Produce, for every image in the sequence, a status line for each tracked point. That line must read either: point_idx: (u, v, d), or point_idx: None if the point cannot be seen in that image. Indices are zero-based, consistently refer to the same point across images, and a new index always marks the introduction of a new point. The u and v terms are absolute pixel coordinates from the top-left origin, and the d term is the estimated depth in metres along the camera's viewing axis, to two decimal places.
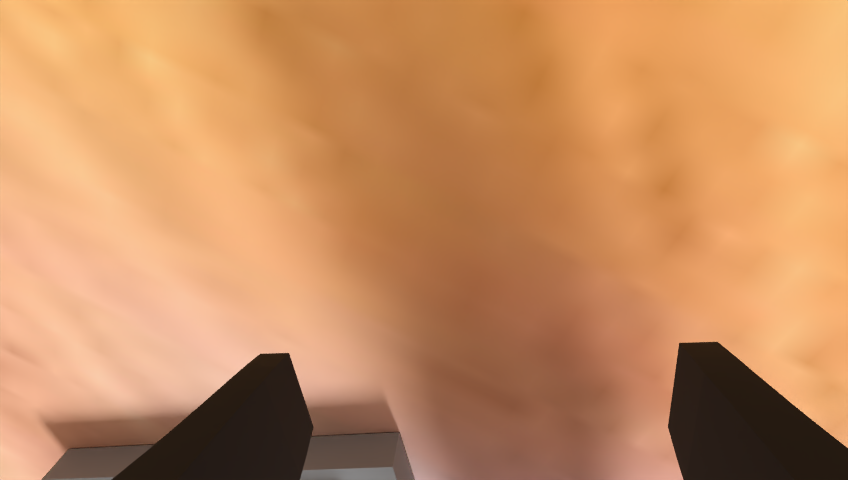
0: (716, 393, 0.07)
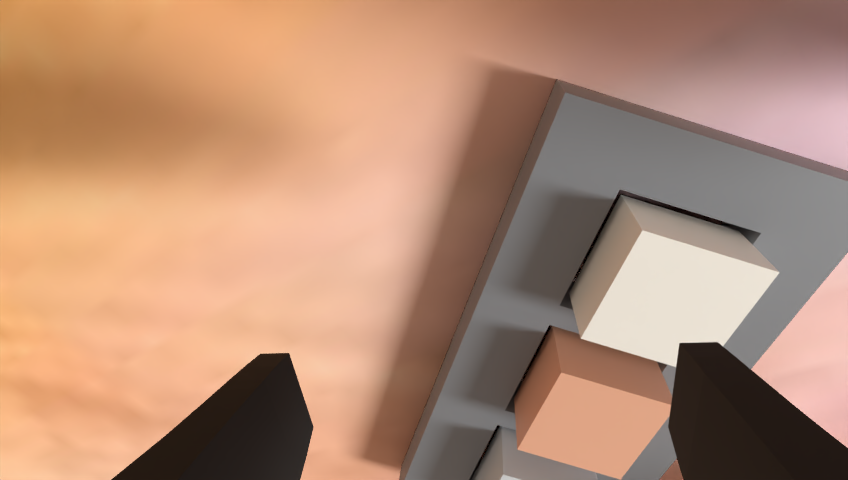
0: (716, 393, 0.07)
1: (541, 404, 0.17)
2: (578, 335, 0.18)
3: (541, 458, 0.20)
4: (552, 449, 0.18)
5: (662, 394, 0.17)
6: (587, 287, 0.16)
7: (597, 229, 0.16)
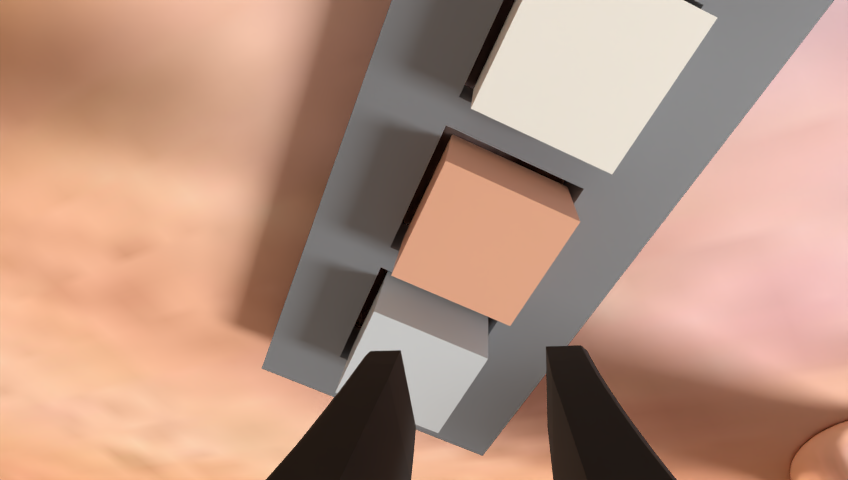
0: (558, 395, 0.07)
1: (422, 209, 0.14)
2: (481, 149, 0.15)
3: (426, 308, 0.17)
4: (432, 277, 0.15)
5: (566, 210, 0.14)
6: (490, 59, 0.13)
7: None
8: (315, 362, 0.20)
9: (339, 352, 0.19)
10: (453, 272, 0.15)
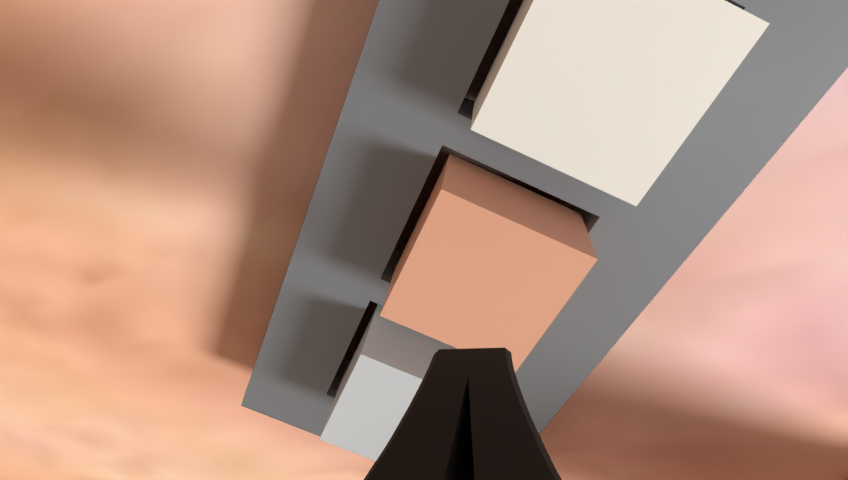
0: None
1: (414, 244, 0.12)
2: (482, 171, 0.13)
3: (420, 347, 0.15)
4: (426, 319, 0.13)
5: (581, 244, 0.12)
6: (493, 70, 0.11)
7: None
8: (299, 400, 0.18)
9: (325, 390, 0.17)
10: (450, 313, 0.13)
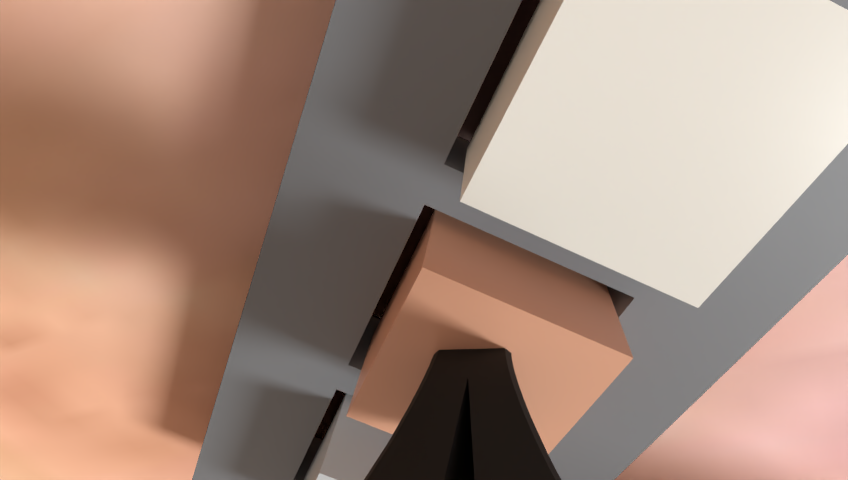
0: None
1: (388, 332, 0.09)
2: None
3: None
4: None
5: (610, 335, 0.09)
6: (493, 111, 0.08)
7: None
8: None
9: None
10: None
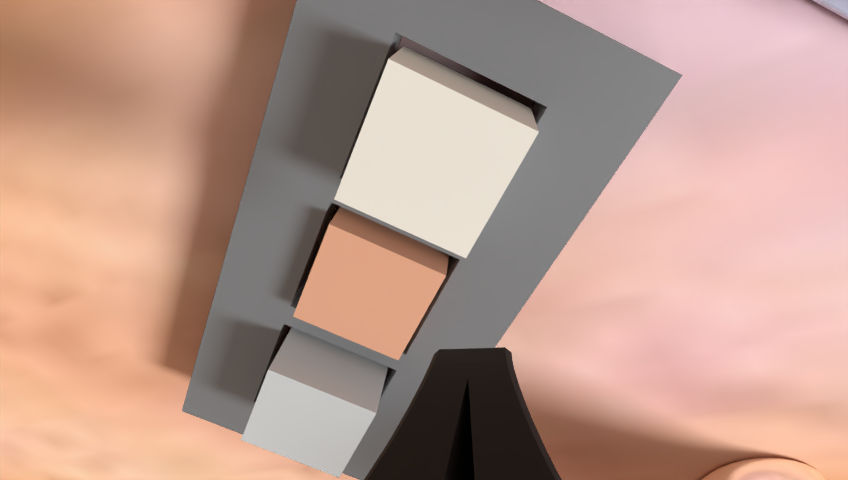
0: None
1: (314, 263, 0.16)
2: None
3: (324, 363, 0.18)
4: (327, 319, 0.17)
5: (437, 264, 0.16)
6: None
7: (374, 82, 0.14)
8: (231, 406, 0.21)
9: (252, 398, 0.20)
10: (345, 314, 0.17)
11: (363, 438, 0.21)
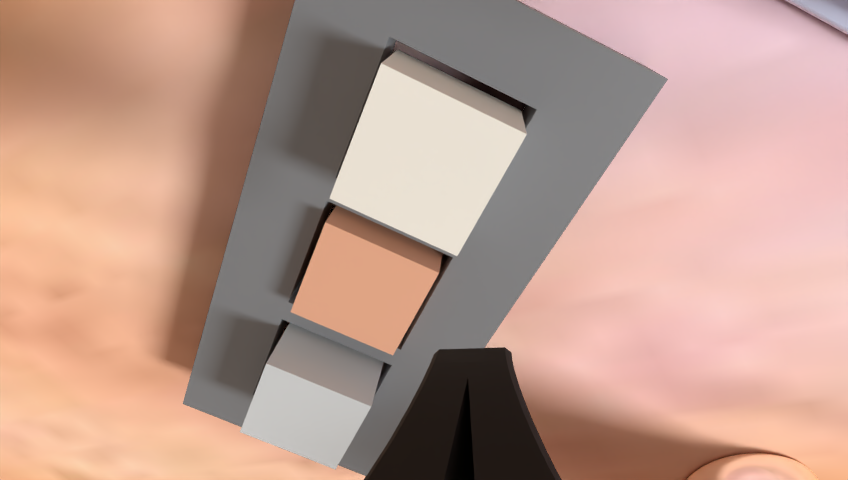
0: None
1: (310, 260, 0.16)
2: None
3: (320, 357, 0.18)
4: (324, 314, 0.17)
5: (430, 262, 0.16)
6: None
7: (368, 85, 0.14)
8: (231, 399, 0.21)
9: (251, 391, 0.21)
10: (341, 310, 0.17)
11: (359, 431, 0.21)
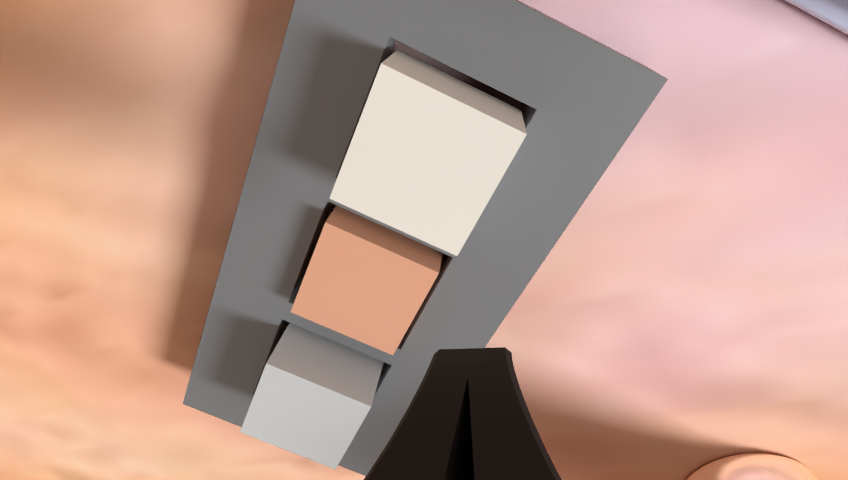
0: None
1: (310, 260, 0.16)
2: None
3: (320, 357, 0.18)
4: (324, 314, 0.17)
5: (430, 262, 0.16)
6: None
7: (368, 85, 0.14)
8: (231, 399, 0.21)
9: (251, 391, 0.21)
10: (341, 310, 0.17)
11: (359, 431, 0.21)
